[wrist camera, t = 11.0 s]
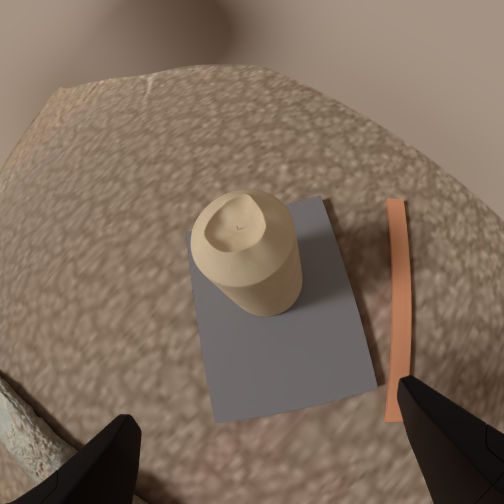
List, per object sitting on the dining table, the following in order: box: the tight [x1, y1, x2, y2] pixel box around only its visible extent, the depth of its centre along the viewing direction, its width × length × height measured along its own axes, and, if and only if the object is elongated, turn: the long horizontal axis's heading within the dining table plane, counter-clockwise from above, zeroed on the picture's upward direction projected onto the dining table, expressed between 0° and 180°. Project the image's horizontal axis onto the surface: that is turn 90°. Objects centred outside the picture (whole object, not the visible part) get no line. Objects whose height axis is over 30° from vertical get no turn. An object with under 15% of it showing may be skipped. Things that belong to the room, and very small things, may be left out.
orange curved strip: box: [384, 199, 411, 422], centre depth 21 cm, size 18×2×1 cm, turn 173°
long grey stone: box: [0, 375, 149, 504], centre depth 19 cm, size 35×5×10 cm
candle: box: [191, 189, 303, 317], centre depth 19 cm, size 6×6×10 cm
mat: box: [186, 196, 378, 423], centre depth 23 cm, size 16×12×1 cm
